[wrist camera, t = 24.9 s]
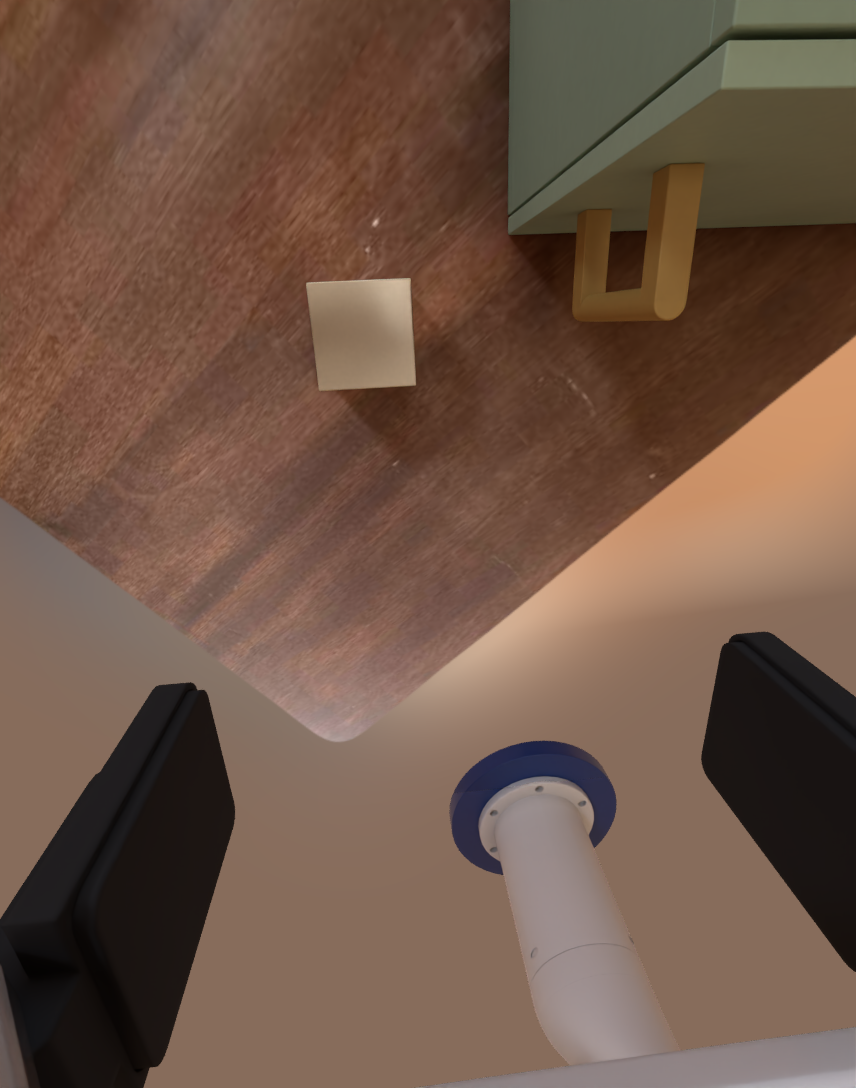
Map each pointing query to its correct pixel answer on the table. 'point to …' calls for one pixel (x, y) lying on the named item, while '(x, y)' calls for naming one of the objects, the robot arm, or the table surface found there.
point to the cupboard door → (708, 169)
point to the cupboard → (623, 66)
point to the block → (362, 333)
